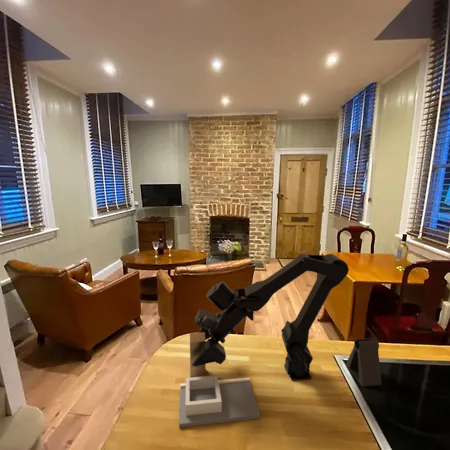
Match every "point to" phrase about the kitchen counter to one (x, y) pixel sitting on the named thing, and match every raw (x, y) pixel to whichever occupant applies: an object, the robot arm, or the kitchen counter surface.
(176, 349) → the kitchen counter surface
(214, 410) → the grey socket base
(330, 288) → the robot arm
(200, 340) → the bar
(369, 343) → the phone stand
